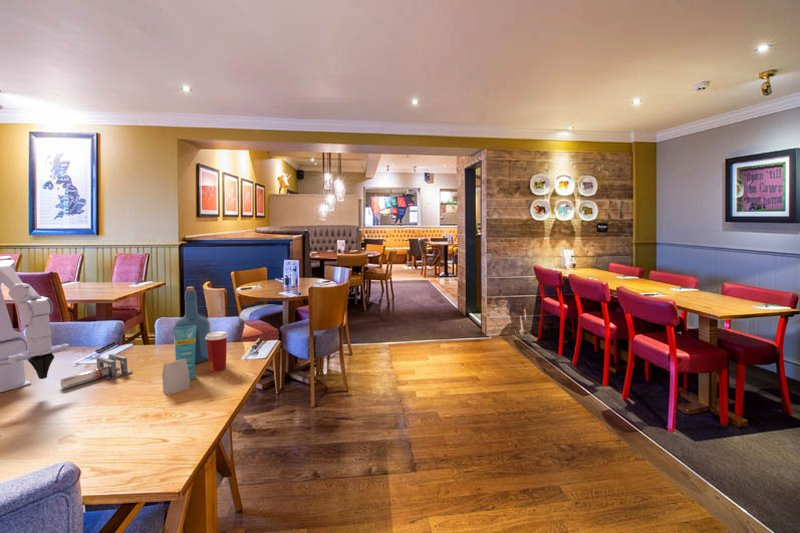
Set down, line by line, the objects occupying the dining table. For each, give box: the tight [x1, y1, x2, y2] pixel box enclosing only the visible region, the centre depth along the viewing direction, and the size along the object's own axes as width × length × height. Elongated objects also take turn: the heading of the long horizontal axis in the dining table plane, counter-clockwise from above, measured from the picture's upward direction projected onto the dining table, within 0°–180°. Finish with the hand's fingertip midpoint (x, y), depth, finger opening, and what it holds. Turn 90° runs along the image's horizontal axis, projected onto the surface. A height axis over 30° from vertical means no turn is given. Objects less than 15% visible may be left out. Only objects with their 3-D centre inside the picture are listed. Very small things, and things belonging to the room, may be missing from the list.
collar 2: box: [108, 353, 133, 377], centre depth 145 cm, size 4×11×6 cm, turn 63°
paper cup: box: [205, 330, 229, 373], centre depth 148 cm, size 8×8×14 cm
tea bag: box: [162, 359, 191, 396], centre depth 129 cm, size 4×7×10 cm, turn 142°
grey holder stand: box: [95, 356, 122, 381], centre depth 141 cm, size 4×11×6 cm, turn 63°
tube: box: [172, 325, 197, 381], centre depth 139 cm, size 7×5×19 cm, turn 123°
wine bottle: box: [173, 286, 211, 364], centre depth 158 cm, size 14×13×30 cm
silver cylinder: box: [59, 365, 109, 390], centre depth 136 cm, size 14×4×4 cm, turn 153°
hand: (42, 378), depth 125 cm, fingers closed
